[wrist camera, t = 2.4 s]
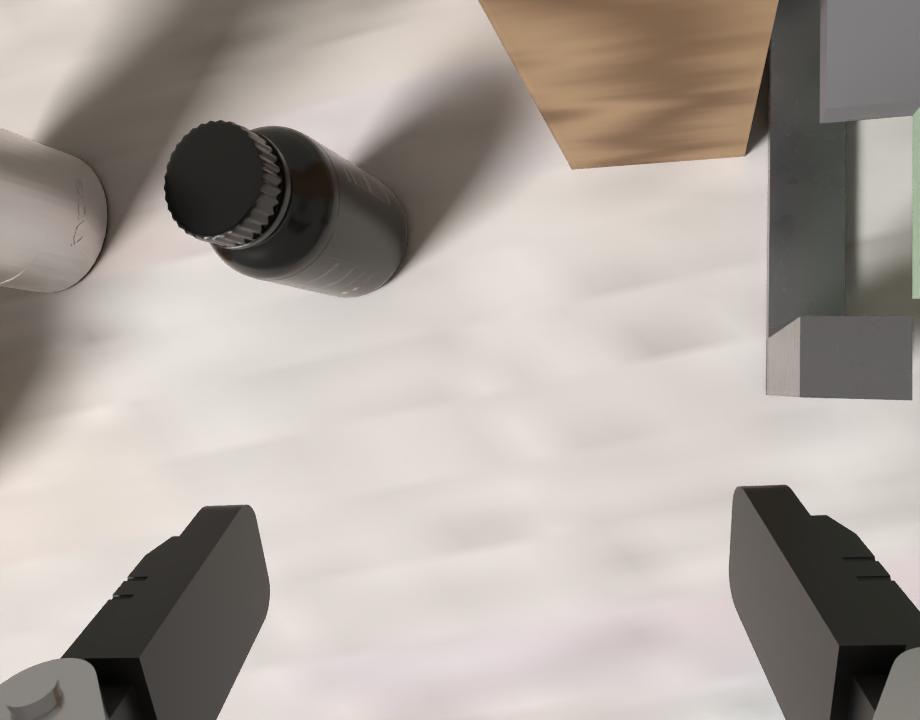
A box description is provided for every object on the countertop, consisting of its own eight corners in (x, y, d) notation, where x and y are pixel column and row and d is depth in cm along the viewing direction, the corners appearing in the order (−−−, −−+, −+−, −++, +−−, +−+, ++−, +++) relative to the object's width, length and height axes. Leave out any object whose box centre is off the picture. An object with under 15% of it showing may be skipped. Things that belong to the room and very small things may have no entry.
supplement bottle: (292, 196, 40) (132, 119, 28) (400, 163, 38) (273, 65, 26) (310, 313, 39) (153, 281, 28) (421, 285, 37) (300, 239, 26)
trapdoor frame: (765, 394, 31) (799, 397, 21) (770, -123, 32) (805, -353, 22) (840, 396, 30) (912, 400, 20) (843, -137, 31) (914, -384, 21)
